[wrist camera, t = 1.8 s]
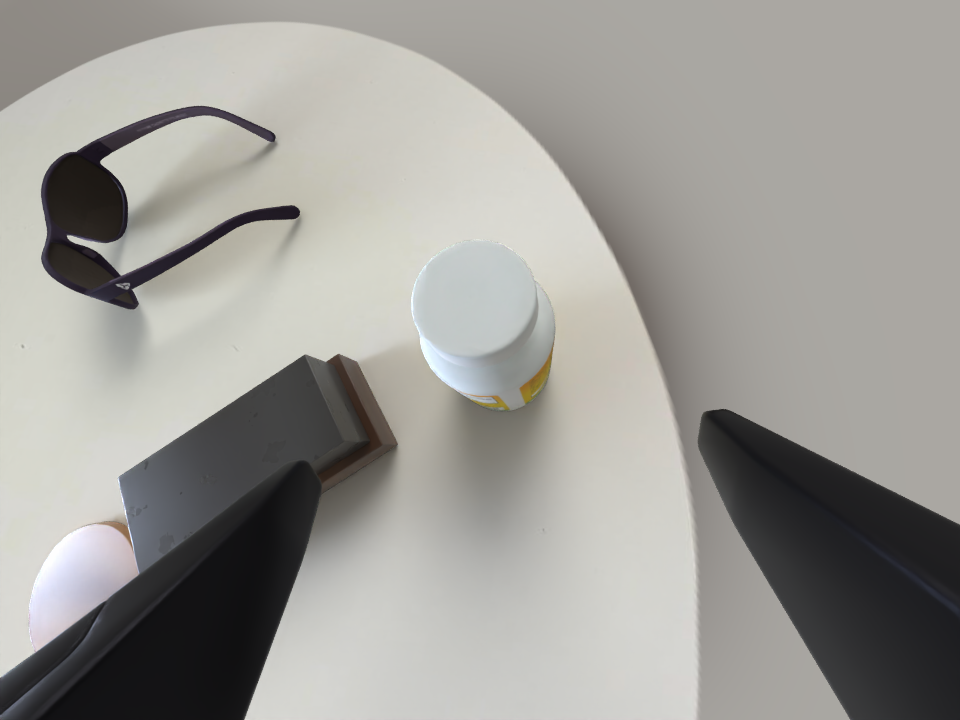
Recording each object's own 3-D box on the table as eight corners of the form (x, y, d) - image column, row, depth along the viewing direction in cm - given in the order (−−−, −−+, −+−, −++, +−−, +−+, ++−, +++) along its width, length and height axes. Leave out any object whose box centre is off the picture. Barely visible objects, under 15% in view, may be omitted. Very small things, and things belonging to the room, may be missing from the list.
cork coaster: (146, 656, 19) (134, 663, 19) (33, 679, 20) (19, 685, 20) (151, 509, 22) (141, 511, 21) (50, 535, 22) (37, 537, 22)
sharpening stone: (356, 361, 21) (309, 340, 17) (398, 444, 20) (357, 445, 15) (193, 467, 22) (107, 473, 17) (220, 559, 20) (131, 591, 16)
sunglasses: (113, 203, 29) (29, 156, 24) (269, 114, 28) (214, 47, 24) (131, 336, 25) (35, 311, 20) (313, 237, 24) (257, 187, 20)
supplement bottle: (473, 424, 19) (409, 407, 10) (448, 339, 21) (372, 255, 11) (565, 393, 19) (587, 345, 9) (532, 308, 20) (523, 195, 11)
